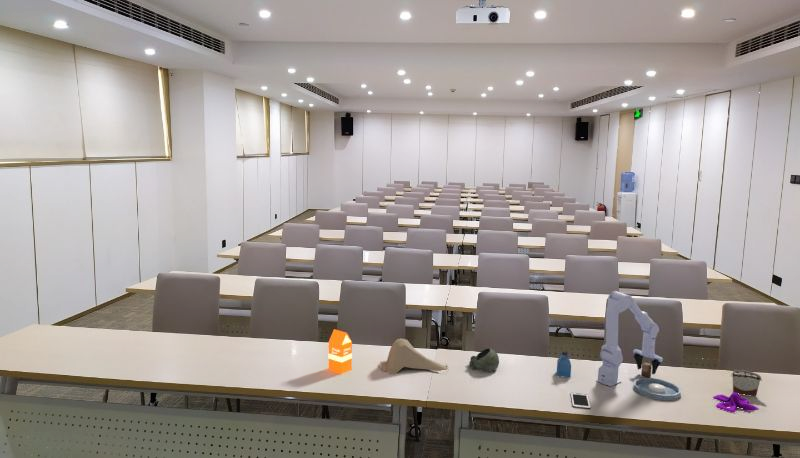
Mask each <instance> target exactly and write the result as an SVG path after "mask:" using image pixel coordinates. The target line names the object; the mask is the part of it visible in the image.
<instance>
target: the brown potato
mask: <svg viewBox="0 0 800 458" xmlns="http://www.w3.org/2000/svg"><path fill="white" fill-rule="evenodd" d="M640 376H641V377H642V378H652V363H649V362H642V367H641V374H640Z"/></svg>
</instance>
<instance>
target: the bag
mask: <svg viewBox="0 0 800 458" xmlns="http://www.w3.org/2000/svg"><path fill="white" fill-rule="evenodd" d="M379 363H380V364H379V365H380V368H381V371H382V372H387V373H388V374H395V375H396V374H397V373H398V372H400V371H401V369H403V368H410V369H420V370H428V371H430V372H434V373H436V372H437V371H441V370H447V369H448V368H449V367H448V368H447V367H446V366H447V365H446V366H444V365H441V364H442V363H440V362H437V361H435V360H432V359H431V358H428V357H426V356H425V355H424V354H422V353H420V352H419V351H418V350H416V349H415V347H414V346H413V345H412V344H411V343H410V341H409V340H408V339H405V338H398V339H396V340H395V341H394V342H393V343H392V345H391V347H390V348H389V352H388V355H387V360H386V361H385V360H384V361H383V360H382V361H380V362H379ZM448 370H449V369H448Z"/></svg>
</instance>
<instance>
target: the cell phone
mask: <svg viewBox="0 0 800 458" xmlns="http://www.w3.org/2000/svg"><path fill="white" fill-rule="evenodd" d="M570 399H571V400H572V401H571V406H572V408H574V407H578V409H583V408H586V410H591V409H592V407H591V400H590V397H589V395H588V394H587V393H580V392H579V393H578V392H570Z"/></svg>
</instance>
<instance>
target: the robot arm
mask: <svg viewBox="0 0 800 458" xmlns="http://www.w3.org/2000/svg"><path fill="white" fill-rule="evenodd" d="M627 309H629V310H630V311H631V313H633V314H634V319H635V320H636V322H637V323H638V324H639V325H640V329H641V331H643V333H642V334H643V335H642V347H641V350H640V349H637V348H635V349H633V350H632V351H633V352H632V353H633V354H634V355H633V358H634V360H635V363H636V367H637V370H642V363H643V359H644V357H645V358H648V359H651V365H652V368H651V375H655V374H656V372H657V370H658V368H659V366H660V364H661V363H662V362H663V360H664V358H663V357H662V356H659V355H657V354H655V349H656V338H657V337H658V333H659V331H660V328H659V326H658V323H656V322H654V321H653V319H652V318H650V316H649V313H648V312H646V311H642V310H641V309H640V307H639V306H638V304H637V303H636V301H635V299H634V298H633V297H632V296H631V295H630V294H625V293H623V292H620V291H618V290H613V291H612V292H610V294H609V295H608V296H607V306H606V309H605V310H606V311H605V344H603V345H601V350H600V353H599V357H600V359H601V362H602V365H601V366H600V367H598V371H597V374H598V375H597V379H595V381H596V382H598V383H601V384H603V385H606V386H609V387H612V386H614V385H617V384H620V383H622V380H620V379H619V378H618V377H619V367H620V366H621V365H622V363H623V362H624V361H623V360H624V357H623V354H622V353H623V352H622V350H621V348H620V347H619V314H620V313H624V312H625V311H626V310H627Z"/></svg>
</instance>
